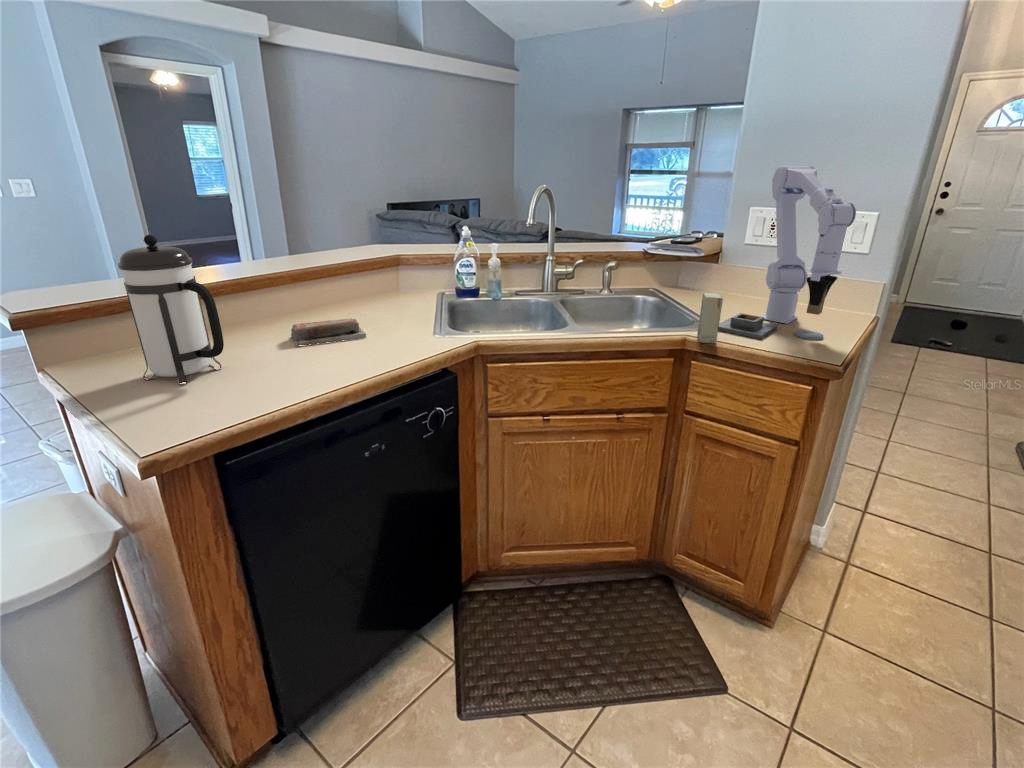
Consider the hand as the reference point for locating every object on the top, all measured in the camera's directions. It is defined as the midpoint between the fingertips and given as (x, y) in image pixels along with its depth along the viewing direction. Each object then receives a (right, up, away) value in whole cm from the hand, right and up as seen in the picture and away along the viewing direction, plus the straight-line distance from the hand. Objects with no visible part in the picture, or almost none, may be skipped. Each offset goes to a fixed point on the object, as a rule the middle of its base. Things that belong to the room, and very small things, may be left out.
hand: (816, 303), depth 142 cm
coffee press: (-153, -20, -25) cm, 157 cm away
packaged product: (-131, -10, 0) cm, 132 cm away
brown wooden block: (0, -2, +1) cm, 2 cm away
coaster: (0, -8, +3) cm, 9 cm away
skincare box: (-30, -10, 0) cm, 31 cm away
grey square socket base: (-15, -6, +9) cm, 19 cm away
